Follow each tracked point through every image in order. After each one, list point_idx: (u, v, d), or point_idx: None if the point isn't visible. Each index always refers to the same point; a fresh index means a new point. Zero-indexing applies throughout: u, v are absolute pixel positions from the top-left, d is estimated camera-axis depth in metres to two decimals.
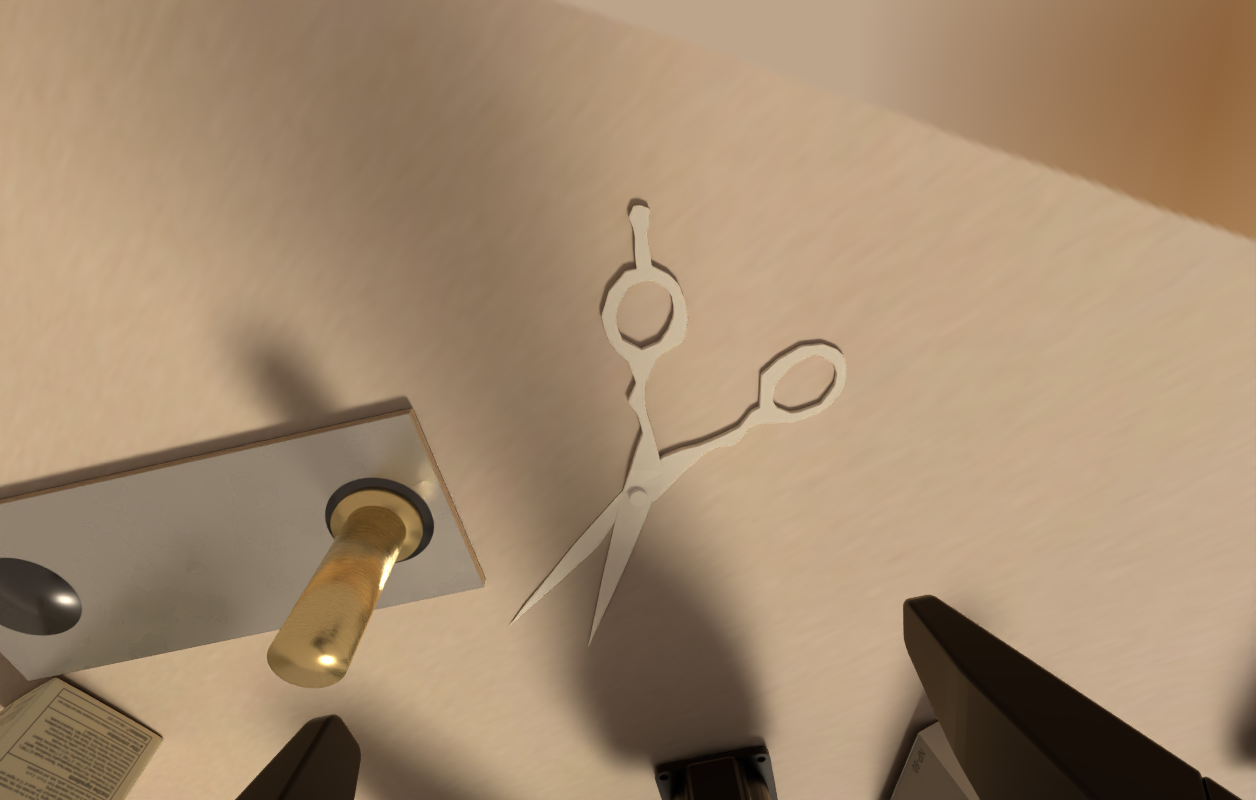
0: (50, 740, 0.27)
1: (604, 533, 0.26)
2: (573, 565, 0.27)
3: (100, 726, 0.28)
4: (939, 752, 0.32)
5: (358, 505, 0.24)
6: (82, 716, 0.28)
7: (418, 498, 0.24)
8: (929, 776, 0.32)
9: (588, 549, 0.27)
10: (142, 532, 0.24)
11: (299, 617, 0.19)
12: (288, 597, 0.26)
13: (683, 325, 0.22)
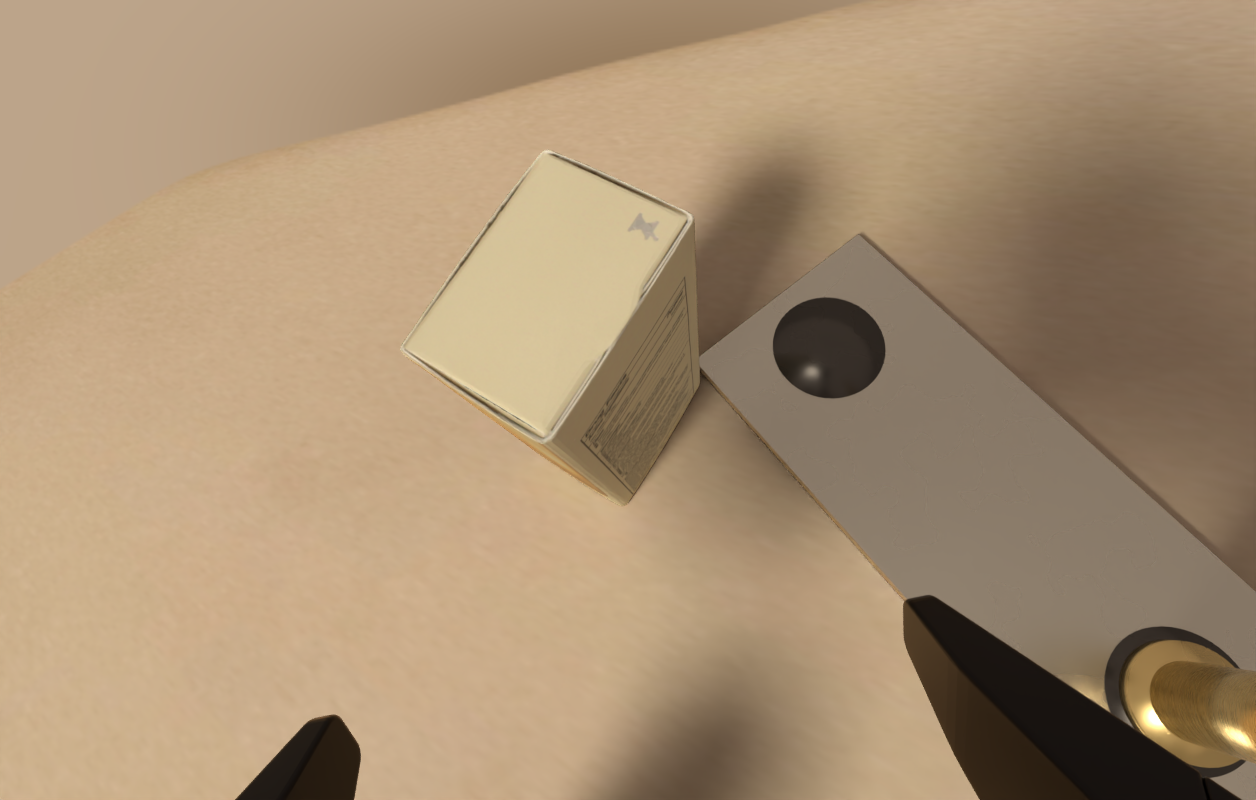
0: (679, 400, 0.22)
1: None
2: None
3: (663, 440, 0.23)
4: None
5: None
6: (675, 420, 0.23)
7: None
8: None
9: None
10: (991, 440, 0.22)
11: None
12: (982, 613, 0.20)
13: None
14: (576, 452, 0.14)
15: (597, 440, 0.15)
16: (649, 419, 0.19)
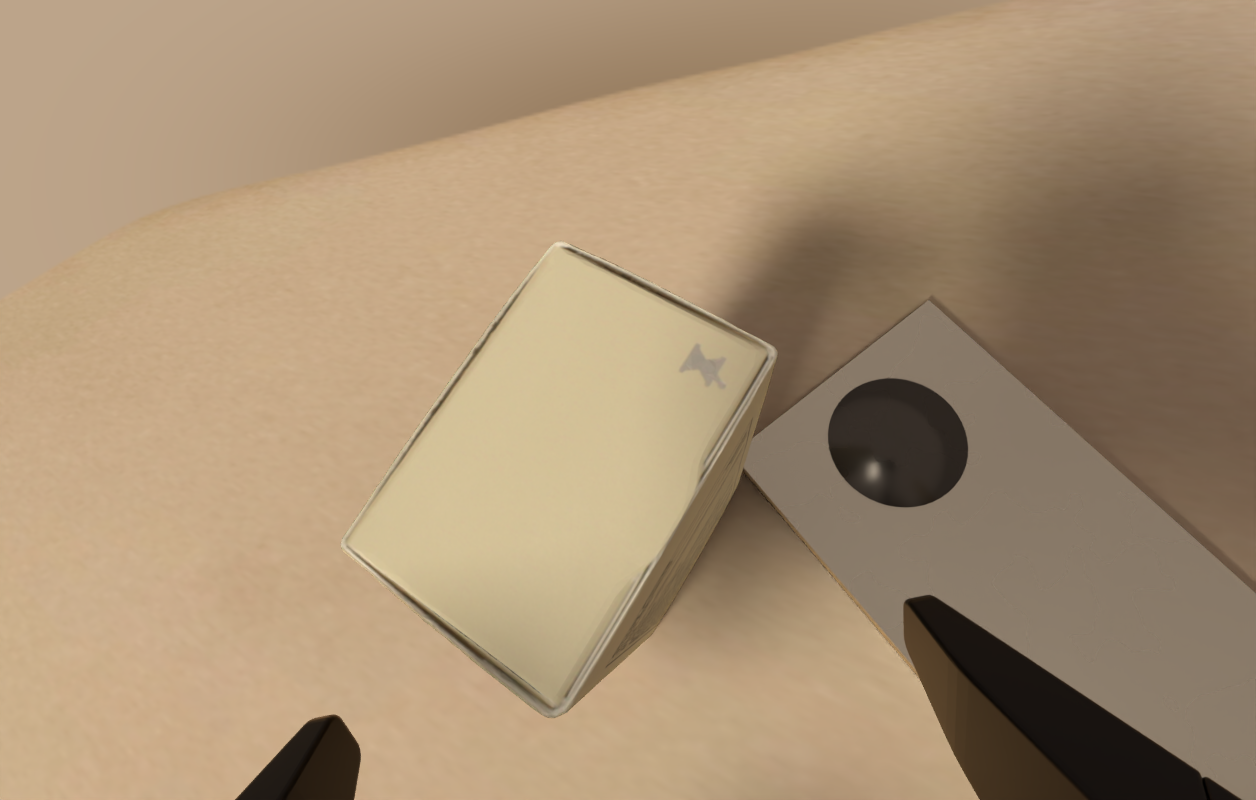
0: (717, 516, 0.18)
1: None
2: None
3: (695, 559, 0.19)
4: None
5: None
6: (710, 533, 0.19)
7: None
8: None
9: None
10: (1107, 568, 0.18)
11: None
12: None
13: None
14: (598, 680, 0.10)
15: (626, 642, 0.11)
16: (686, 561, 0.15)
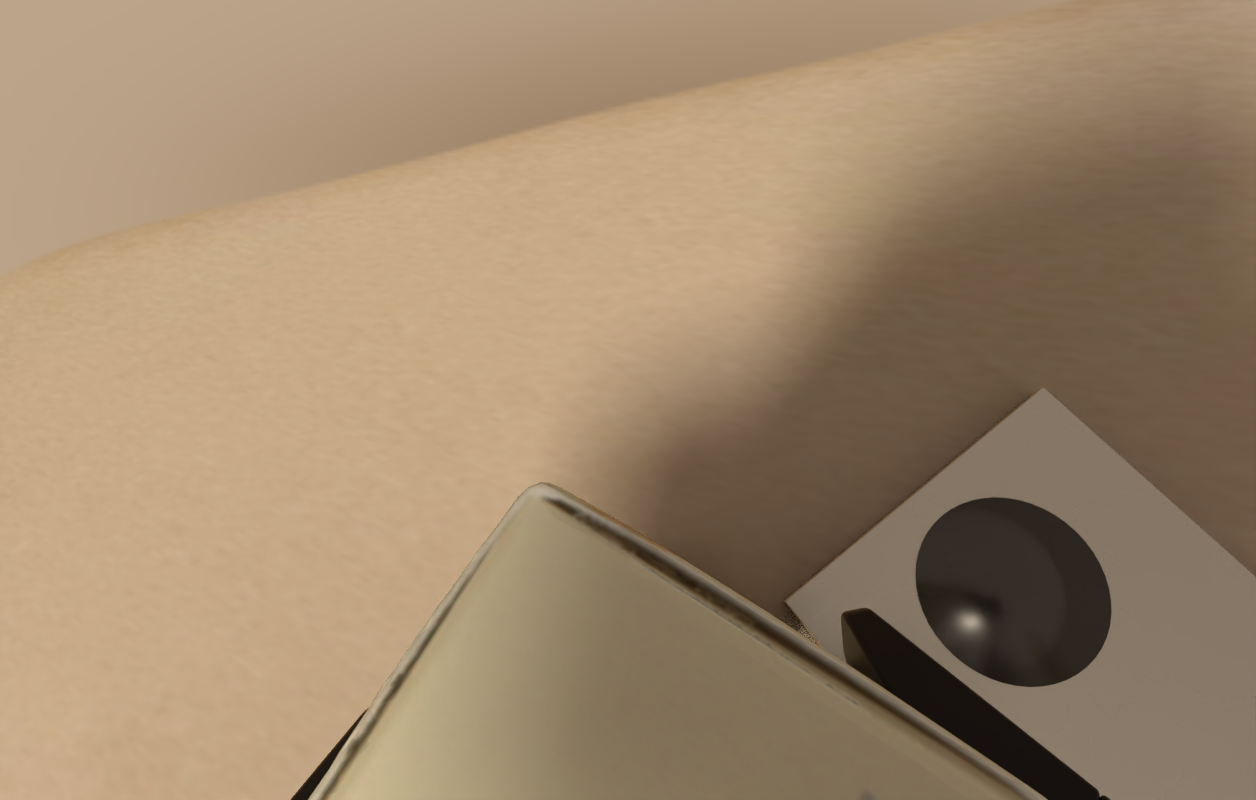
0: None
1: None
2: None
3: None
4: None
5: None
6: None
7: None
8: None
9: None
10: None
11: None
12: None
13: None
14: None
15: None
16: None
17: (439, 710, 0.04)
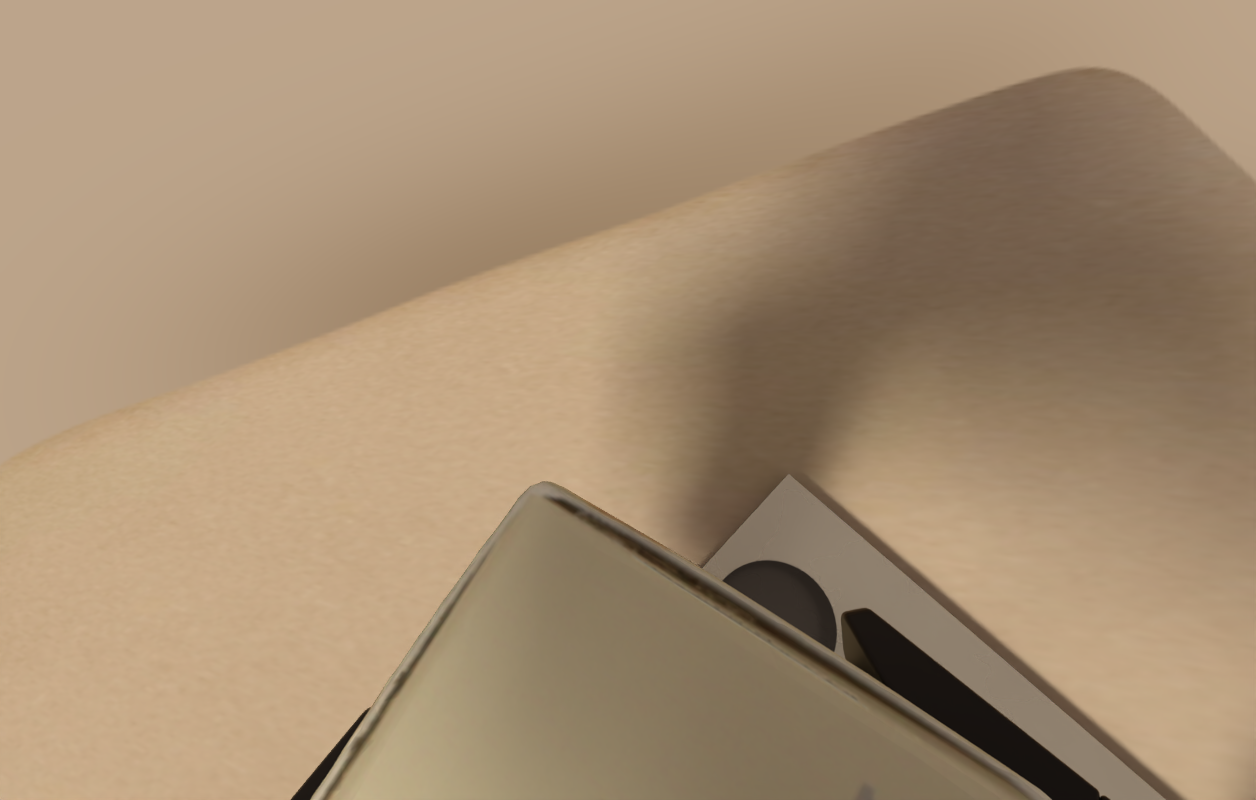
0: None
1: None
2: None
3: None
4: None
5: None
6: None
7: None
8: None
9: None
10: None
11: None
12: None
13: None
14: None
15: None
16: None
17: (443, 707, 0.04)
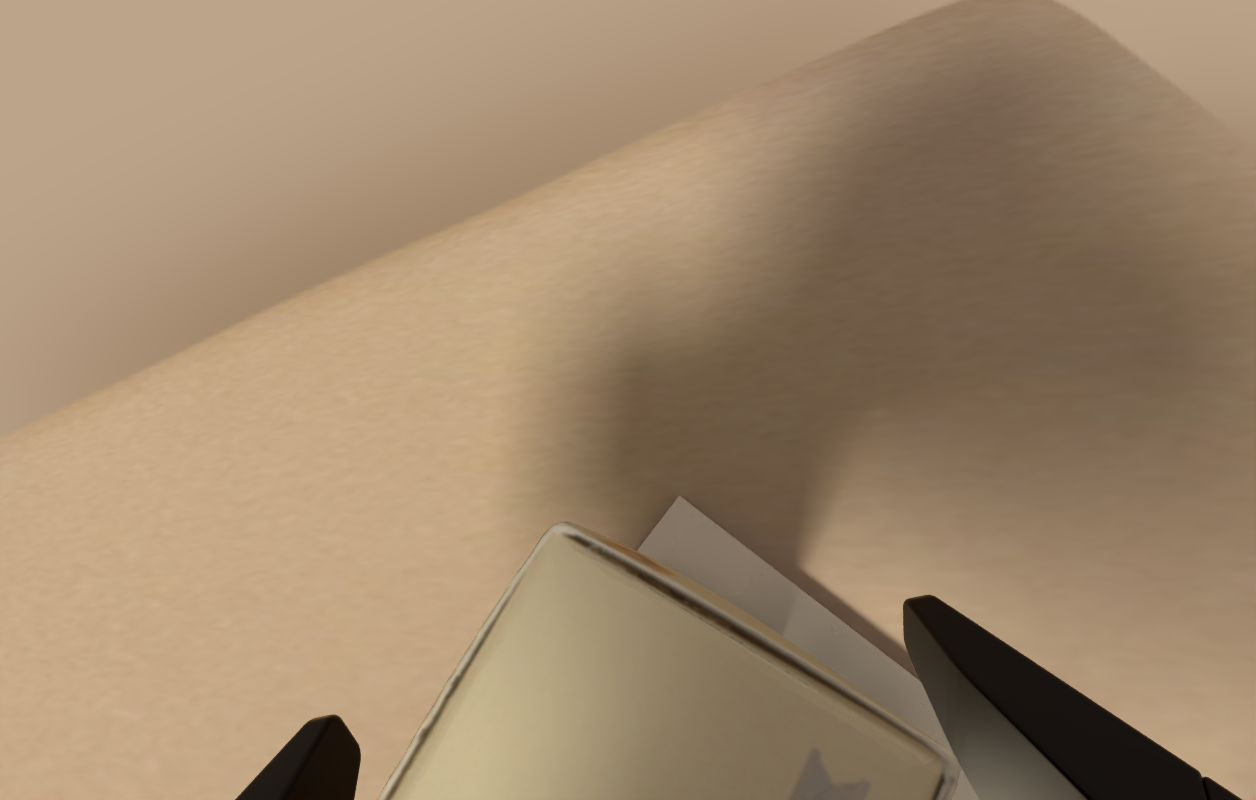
0: None
1: None
2: None
3: None
4: None
5: None
6: None
7: None
8: None
9: None
10: None
11: None
12: None
13: None
14: None
15: None
16: None
17: (490, 702, 0.06)
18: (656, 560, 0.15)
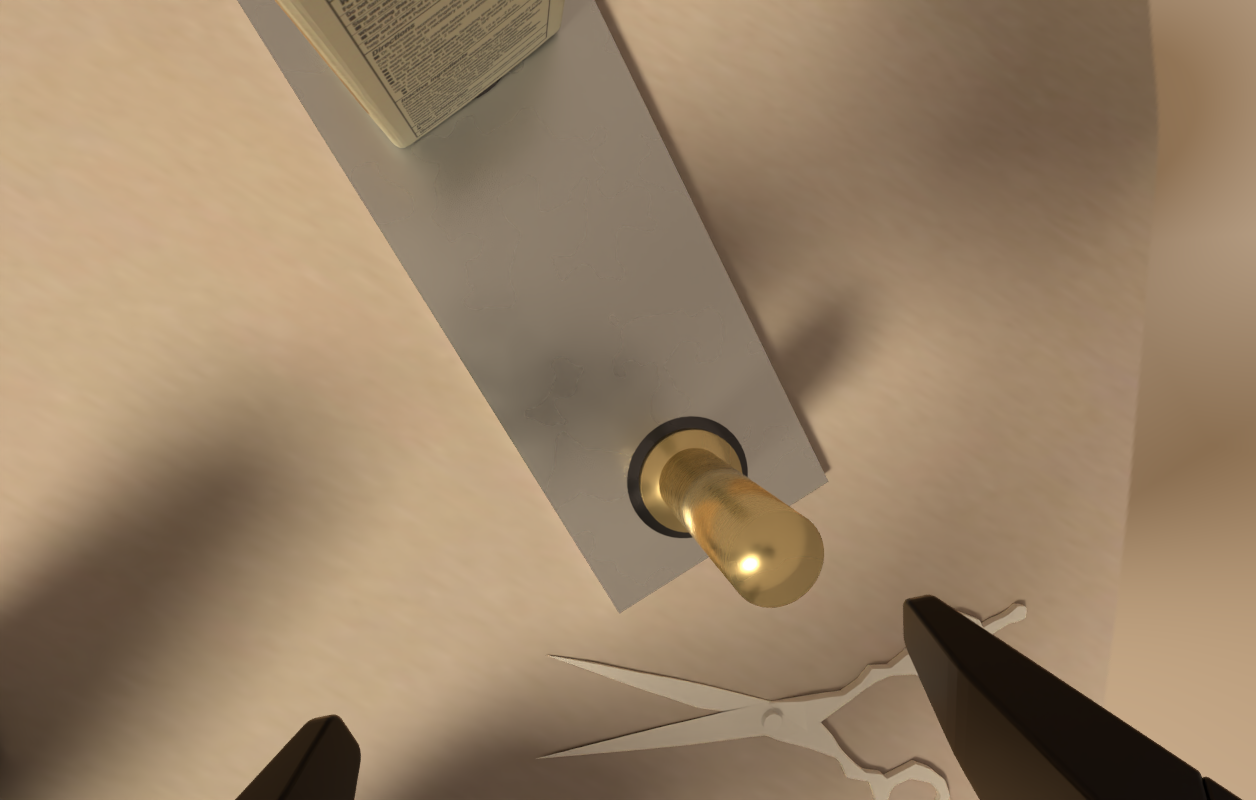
0: (518, 28, 0.15)
1: (712, 705, 0.23)
2: (660, 690, 0.22)
3: (480, 81, 0.17)
4: None
5: (722, 457, 0.20)
6: (506, 60, 0.17)
7: None
8: None
9: (687, 698, 0.23)
10: (605, 203, 0.19)
11: None
12: (538, 386, 0.19)
13: None
14: None
15: None
16: (457, 17, 0.13)
17: None
18: None
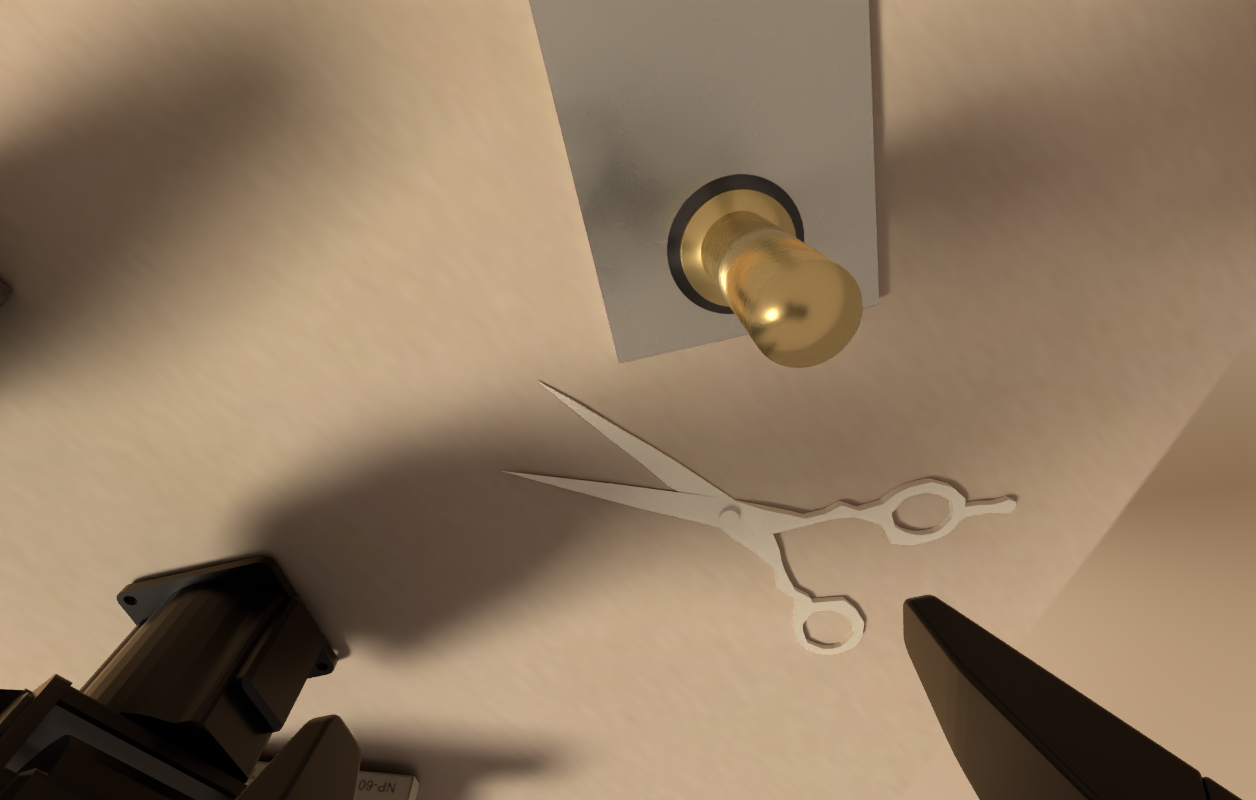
0: None
1: (678, 483, 0.23)
2: (634, 453, 0.23)
3: None
4: None
5: None
6: None
7: None
8: None
9: (657, 469, 0.23)
10: None
11: None
12: (609, 80, 0.17)
13: (906, 543, 0.25)
14: None
15: None
16: None
17: None
18: None
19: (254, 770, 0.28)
